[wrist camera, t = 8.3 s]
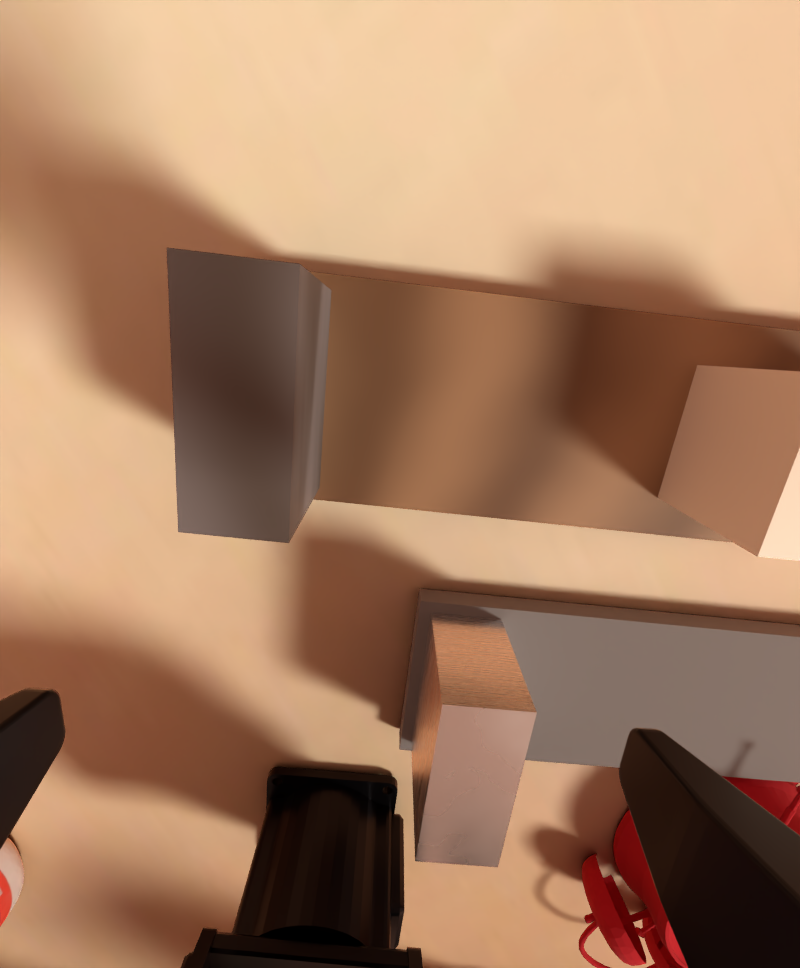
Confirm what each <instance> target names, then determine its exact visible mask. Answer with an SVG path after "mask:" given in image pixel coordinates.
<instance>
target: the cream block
mask: <svg viewBox="0 0 800 968" xmlns="http://www.w3.org/2000/svg"><path fill="white" fill-rule="evenodd" d="M658 499H660V500H662V501H663V502H665V503H667V504H669V505H670V506H672V507H674V508H675V509H677V510H679V511H681V512H682V513H684V514H686V515H687V516H689V517H691V518H692V519H694V520H696V521H698V522H699V523H701V524H703V525H704V526H706V527H708V528H710V529H711V530H713V531H715V532H716V533H718V534H720V535H722V536H723V537H725V538H727V539H728V540H730V541H732V542H733V543H735V544H737V545H739V546H740V547H742V548H744V549H745V550H747V551H749V552H751V553H752V554H754V555H756V556H757V557H766V558H776V559H786V560H796V561H800V371H784V370H769V369H753V368H737V367H721V366H705V365H697V368H696V371H695V374H694V378H693V381H692V384H691V388H690V391H689V394H688V398H687V401H686V404H685V408H684V411H683V414H682V418H681V421H680V424H679V428H678V431H677V434H676V438H675V441H674V444H673V448H672V451H671V454H670V458H669V461H668V464H667V468H666V471H665V474H664V478H663V481H662V484H661V488H660V491H659V494H658Z"/></svg>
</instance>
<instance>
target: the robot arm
mask: <svg viewBox="0 0 800 968" xmlns="http://www.w3.org/2000/svg"><path fill="white" fill-rule="evenodd" d="M64 738H65V726H64V719H63V713H62V707H61V700H60V696H59V694H58V693H57V691H55V690H53V689H40V688H27V689H24V690H21V691H19V692H17V693H15V694H13V695H11V696H9V697H7V698H5V699H3V700H1V701H0V849H1V848H2V846H3V845H4V843H5V841H6V840H7V838H8V836H9V835H10V833H11V831H12V830H13V828H14V826H15V825H16V823H17V821H18V819H19V818H20V816H21V814H22V813H23V811H24V809H25V808H26V806H27V804H28V803H29V801H30V799H31V798H32V796H33V794H34V793H35V791H36V789H37V788H38V786H39V784H40V783H41V781H42V779H43V778H44V776H45V774H46V773H47V771H48V769H49V767H50V766H51V764H52V762H53V761H54V759H55V757H56V756H57V754H58V752H59V751H60V749H61V747H62V744H63V741H64ZM619 777H620V782H621V786H622V789H623V792H624V795H625V798H626V801H627V804H628V807H629V810H630V813H631V816H632V819H633V822H634V825H635V828H636V831H637V834H638V837H639V840H640V843H641V846H642V849H643V852H644V855H645V858H646V861H647V864H648V867H649V870H650V873H651V876H652V879H653V882H654V884H655V887H656V890H657V893H658V896H659V898H660V901H661V904H662V906H663V908H664V911H665V913H666V916H667V918H668V921H669V923H670V926H671V928H672V930H673V933H674V935H675V937H676V940H677V942H678V945H679V947H680V949H681V952H682V954H683V956H684V959H685V961H686V963H687V966H688V968H800V835H799V834H797V833H796V832H795V831H793V830H792V829H791V828H789V827H788V826H787V825H786V824H784V823H783V822H782V821H780V820H779V819H778V818H776V817H775V816H774V815H772V814H771V813H770V812H768V811H767V810H766V809H764V808H763V807H762V806H760V805H759V804H758V803H756V802H755V801H754V800H752V799H751V798H750V797H749V796H747V795H746V794H745V793H743V792H742V791H741V790H739V789H738V788H737V787H735V786H734V785H733V784H731V783H730V782H729V781H727V780H726V779H725V778H723V777H722V776H721V775H719V774H718V773H717V772H715V771H714V770H713V769H712V768H710V767H709V766H708V765H706V764H705V763H704V762H702V761H701V760H700V759H698V758H697V757H696V756H694V755H693V754H692V753H690V752H689V751H688V750H686V749H685V748H684V747H682V746H681V745H680V744H678V743H677V742H676V741H674V740H673V739H672V738H671V737H669V736H668V735H667V734H665V733H664V732H662V731H660V730H658V729H652V728H633V729H632V730H631V731H630V732H629V735H628V738H627V742H626V745H625V749H624V752H623V755H622V759H621V762H620V767H619ZM396 797H397V780H396V779H395V778H394V777H392V776H387V775H374V774H362V773H349V772H337V771H325V770H312V769H300V768H287V767H275V768H273V769H272V770H271V771H270V774H269V777H268V780H267V806H266V814H265V818H264V821H263V825H262V828H261V832H260V836H259V839H258V843H257V846H256V850H255V853H254V857H253V860H252V864H251V867H250V871H249V874H248V878H247V881H246V885H245V888H244V892H243V896H242V899H241V903H240V906H239V910H238V913H237V917H236V920H235V924H234V927H233V931H232V933H223V932H217V929H215V928H205V927H204V928H203V930H202V932H201V935H200V937H199V940H198V942H197V944H196V947H195V949H194V952H192V953H189V954H188V955H187V956H185V957H184V960H183V963H182V966H181V968H423V965H422V956H421V949H420V948H412V947H407V950H400V949H395V948H396V947H397V946H398V943H399V938H400V932H401V926H402V920H403V914H404V841H403V819H402V817H401V816H400V814H394V811H395V804H396Z"/></svg>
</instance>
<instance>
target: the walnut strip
mask: <svg viewBox="0 0 800 968" xmlns="http://www.w3.org/2000/svg"><path fill="white" fill-rule="evenodd" d="M167 265H168V289H169V314H170V339H171V364H172V388H173V413H174V438H175V463H176V487H177V512H178V532H183V533H193V534H203V535H213V536H223V537H234V538H244V539H254V540H264V541H274V542H284V543H289V542H290V540H291V538H292V536H293V535H294V533H295V531H296V529H297V527H298V526H299V524H300V522H301V520H302V518H303V517H304V515H305V513H306V511H307V509H308V508H309V506H310V504H311V502H312V500H313V499H316V500H325V501H335V502H345V503H355V504H364V505H374V506H384V507H393V508H403V509H413V510H423V511H432V512H442V513H452V514H462V515H471V516H481V517H491V518H500V519H510V520H520V521H530V522H539V523H549V524H559V525H569V526H578V527H588V528H598V529H607V530H617V531H627V532H637V533H646V534H656V535H666V536H676V537H685V538H695V539H705V540H714V541H724V542H732V541H730V540H728V539H727V538H725V537H723V536H722V535H720V534H718V533H716V532H715V531H713V530H711V529H710V528H708V527H706V526H704V525H703V524H701V523H699V522H698V521H696V520H694V519H692V518H691V517H689V516H687V515H686V514H684V513H682V512H681V511H679V510H677V509H675V508H674V507H672V506H670V505H669V504H667V503H665V502H663V501H662V500H660V499H658V494H659V491H660V488H661V484H662V481H663V478H664V474H665V471H666V468H667V464H668V461H669V458H670V454H671V451H672V448H673V444H674V441H675V438H676V434H677V431H678V428H679V424H680V421H681V418H682V414H683V411H684V408H685V404H686V401H687V398H688V394H689V391H690V388H691V384H692V381H693V378H694V374H695V371H696V368H697V365H705V366H721V367H737V368H753V369H769V370H784V371H800V331H796V330H788V329H780V328H772V327H763V326H755V325H747V324H739V323H730V322H722V321H714V320H706V319H697V318H689V317H681V316H673V315H665V314H656V313H648V312H640V311H632V310H623V309H615V308H607V307H599V306H591V305H582V304H574V303H566V302H558V301H549V300H541V299H533V298H525V297H516V296H508V295H500V294H492V293H484V292H475V291H467V290H459V289H451V288H442V287H434V286H426V285H418V284H410V283H401V282H393V281H385V280H377V279H368V278H360V277H352V276H344V275H335V274H327V273H319V272H311V271H308V270H307V269H305V268H304V267H303V266H302V265H301V264H296V263H288V262H280V261H272V260H264V259H255V258H247V257H239V256H231V255H223V254H215V253H206V252H198V251H190V250H182V249H174V248H167Z"/></svg>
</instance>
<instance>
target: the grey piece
mask: <svg viewBox="0 0 800 968" xmlns="http://www.w3.org/2000/svg"><path fill="white" fill-rule="evenodd" d="M633 728H652V729H658V730H660V731H662V732H664V733H665V734H667V735H668V736H669V737H671V738H672V739H673V740H674V741H676V742H677V743H678V744H680V745H681V746H682V747H684V748H685V749H686V750H688V751H689V752H690V753H692V754H693V755H694V756H696V757H697V758H698V759H700V760H701V761H702V762H704V763H705V764H706V765H708V766H709V767H710V768H712V769H713V770H714V771H715V772H717V773H718V774H719V775H721V776H725V777H737V778H749V779H761V780H773V781H785V782H797V783H800V625H793V624H783V623H772V622H762V621H752V620H741V619H731V618H720V617H710V616H700V615H689V614H679V613H669V612H658V611H648V610H637V609H627V608H617V607H606V606H596V605H585V604H575V603H565V602H554V601H544V600H534V599H523V598H513V597H502V596H492V595H482V594H471V593H461V592H450V591H440V590H430V589H419V596H418V603H417V611H416V618H415V625H414V632H413V639H412V646H411V653H410V660H409V668H408V675H407V682H406V689H405V696H404V703H403V710H402V718H401V725H400V732H399V734H400V750H411V751H412V775H413V805H414V835H415V861H421V862H434V863H448V864H461V865H475V866H489V867H498V864H499V860H500V857H501V853H502V849H503V845H504V841H505V837H506V833H507V829H508V825H509V821H510V817H511V813H512V809H513V805H514V801H515V797H516V793H517V789H518V785H519V781H520V777H521V773H522V769H523V765H524V761H525V760H532V761H544V762H556V763H568V764H580V765H592V766H604V767H616V768H619V767H620V762H621V759H622V755H623V752H624V749H625V745H626V742H627V738H628V735H629V732H630V731H631V730H632V729H633Z"/></svg>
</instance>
